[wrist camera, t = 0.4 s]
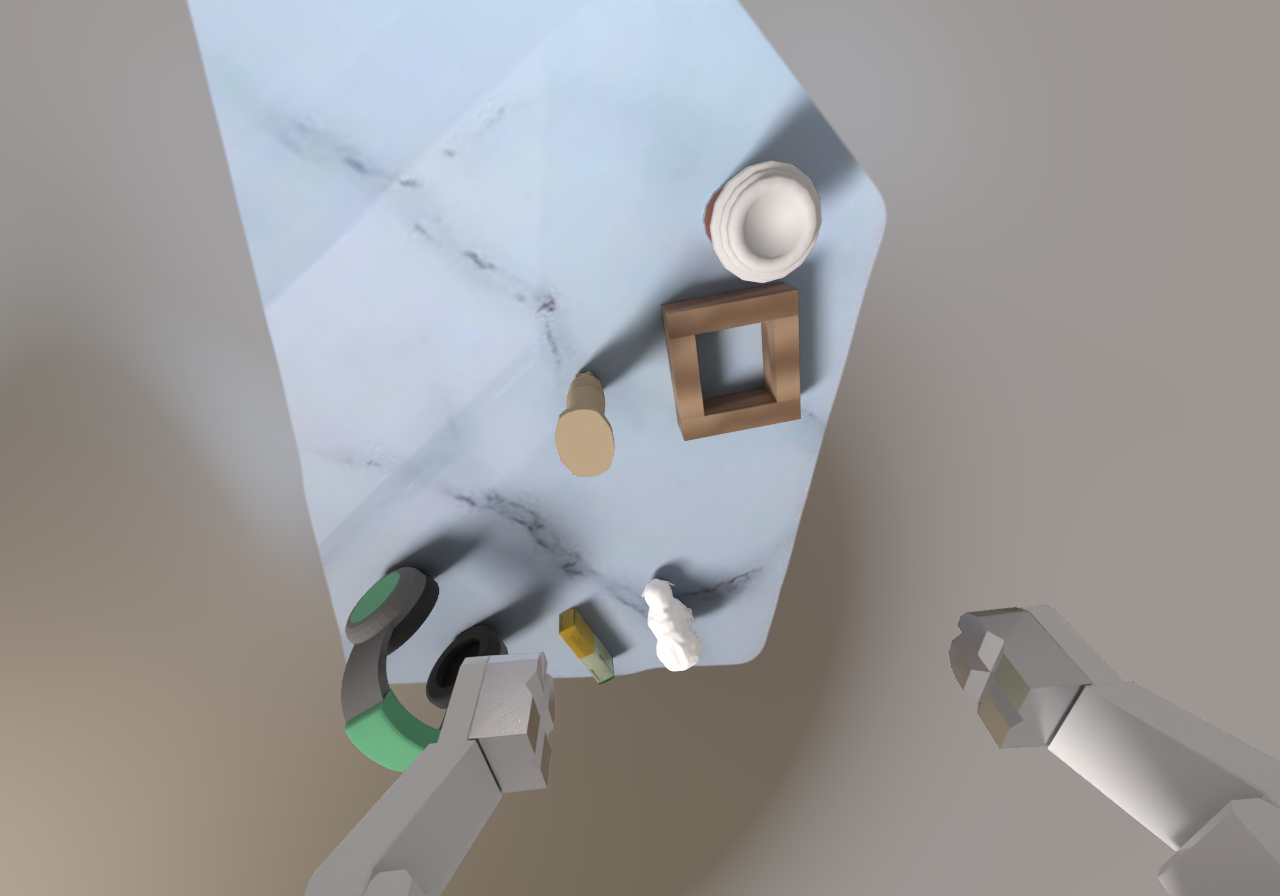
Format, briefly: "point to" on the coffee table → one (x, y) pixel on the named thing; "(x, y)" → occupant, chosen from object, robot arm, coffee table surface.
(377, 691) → the headphones
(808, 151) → the coffee table surface
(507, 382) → the coffee table surface
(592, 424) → the handle
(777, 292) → the socket block
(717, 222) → the coffee cup
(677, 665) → the white lumpy rounded piece
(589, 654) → the medication box
